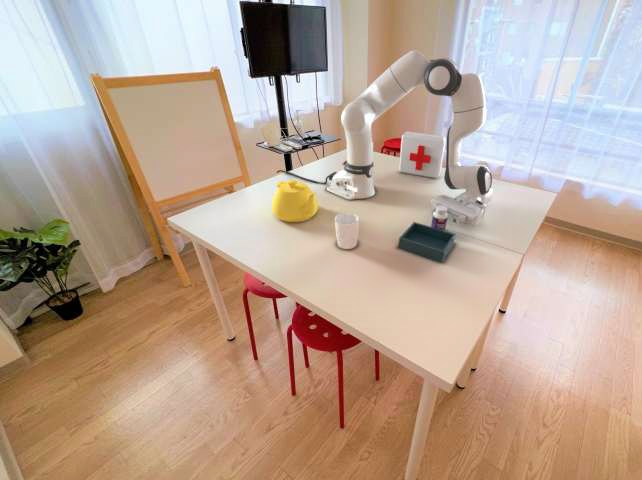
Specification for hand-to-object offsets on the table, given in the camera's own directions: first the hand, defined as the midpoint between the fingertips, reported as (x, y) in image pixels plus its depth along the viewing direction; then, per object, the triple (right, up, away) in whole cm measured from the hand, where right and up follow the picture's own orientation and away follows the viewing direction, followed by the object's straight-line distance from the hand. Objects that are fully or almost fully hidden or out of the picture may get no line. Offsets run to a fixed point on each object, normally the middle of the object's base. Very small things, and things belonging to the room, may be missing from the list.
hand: (444, 215), depth 113 cm
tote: (-8, -11, -7) cm, 15 cm away
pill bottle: (-2, -6, +2) cm, 6 cm away
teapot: (-56, +1, +9) cm, 57 cm away
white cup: (-35, -11, -7) cm, 38 cm away
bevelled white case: (-2, +26, +47) cm, 53 cm away
